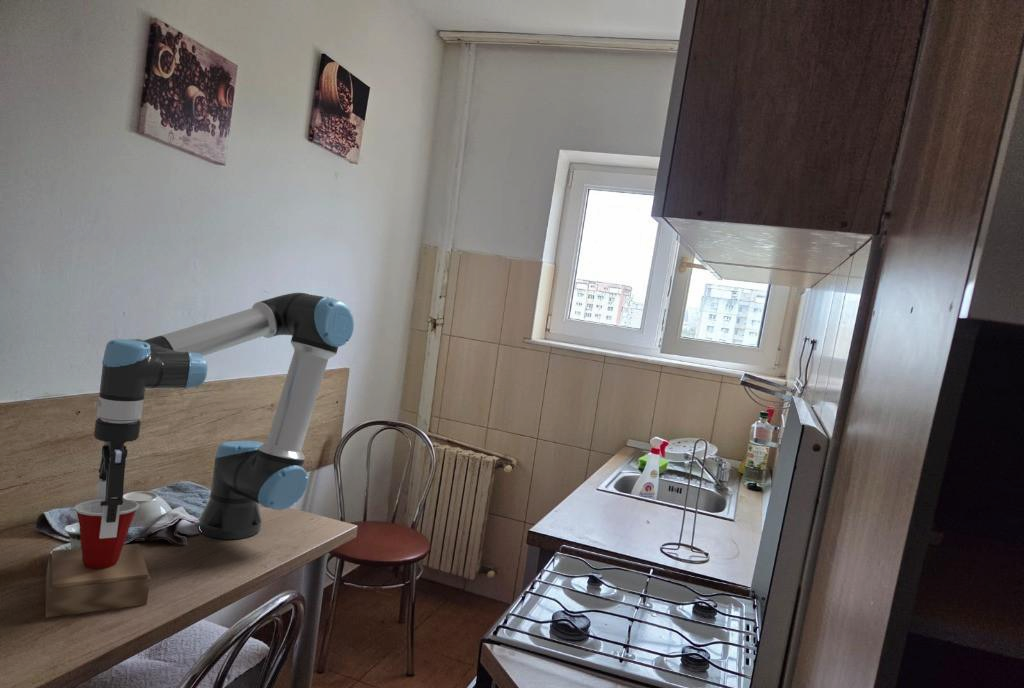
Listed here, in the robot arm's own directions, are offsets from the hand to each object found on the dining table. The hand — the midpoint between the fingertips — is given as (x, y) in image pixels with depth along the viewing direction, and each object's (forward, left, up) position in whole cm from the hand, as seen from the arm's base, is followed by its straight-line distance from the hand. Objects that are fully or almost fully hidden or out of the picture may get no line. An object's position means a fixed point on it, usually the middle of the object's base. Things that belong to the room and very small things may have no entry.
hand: (105, 524), depth 124 cm
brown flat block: (0, 0, -14) cm, 14 cm away
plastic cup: (0, 0, -8) cm, 8 cm away
